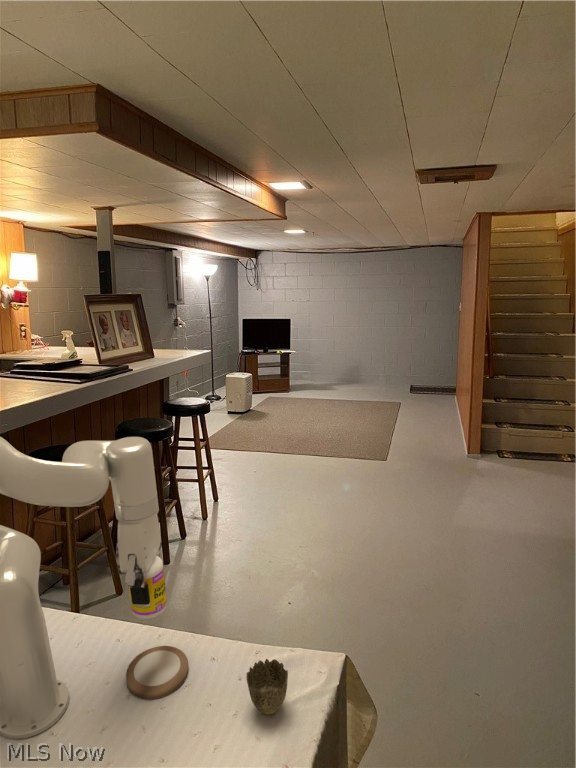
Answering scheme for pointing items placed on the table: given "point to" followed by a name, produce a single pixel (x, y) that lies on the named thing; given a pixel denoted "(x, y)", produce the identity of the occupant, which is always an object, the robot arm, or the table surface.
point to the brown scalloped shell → (267, 685)
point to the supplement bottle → (152, 591)
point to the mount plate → (157, 672)
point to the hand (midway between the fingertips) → (147, 589)
